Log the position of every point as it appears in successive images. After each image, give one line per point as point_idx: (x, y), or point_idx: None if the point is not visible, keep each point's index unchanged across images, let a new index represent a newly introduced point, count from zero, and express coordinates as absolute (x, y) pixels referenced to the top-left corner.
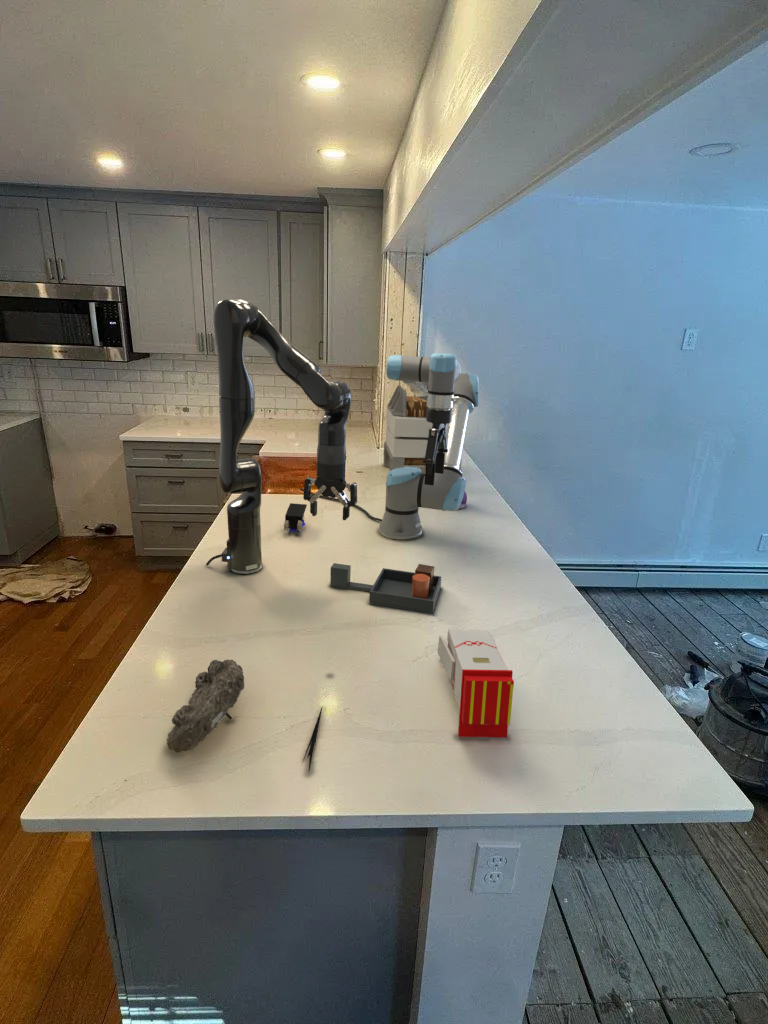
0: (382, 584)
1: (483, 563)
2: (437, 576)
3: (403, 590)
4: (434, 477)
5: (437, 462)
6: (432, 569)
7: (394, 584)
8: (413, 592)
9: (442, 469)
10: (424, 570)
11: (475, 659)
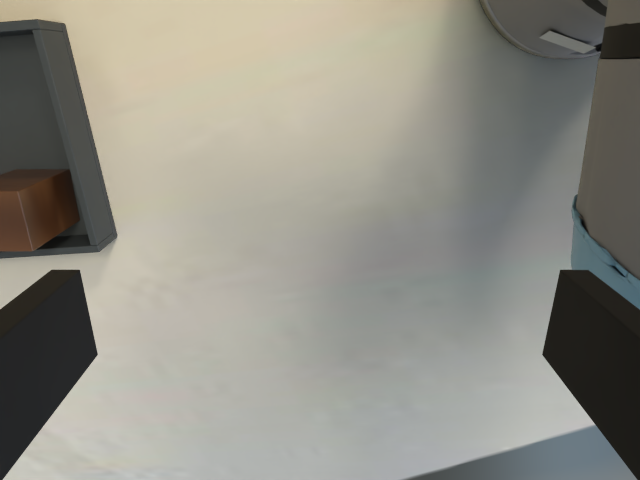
0: (7, 42)
1: (357, 326)
2: (91, 239)
3: (11, 131)
4: (51, 410)
5: (635, 372)
6: (2, 249)
7: (33, 87)
8: None
9: (570, 377)
10: None
11: None
